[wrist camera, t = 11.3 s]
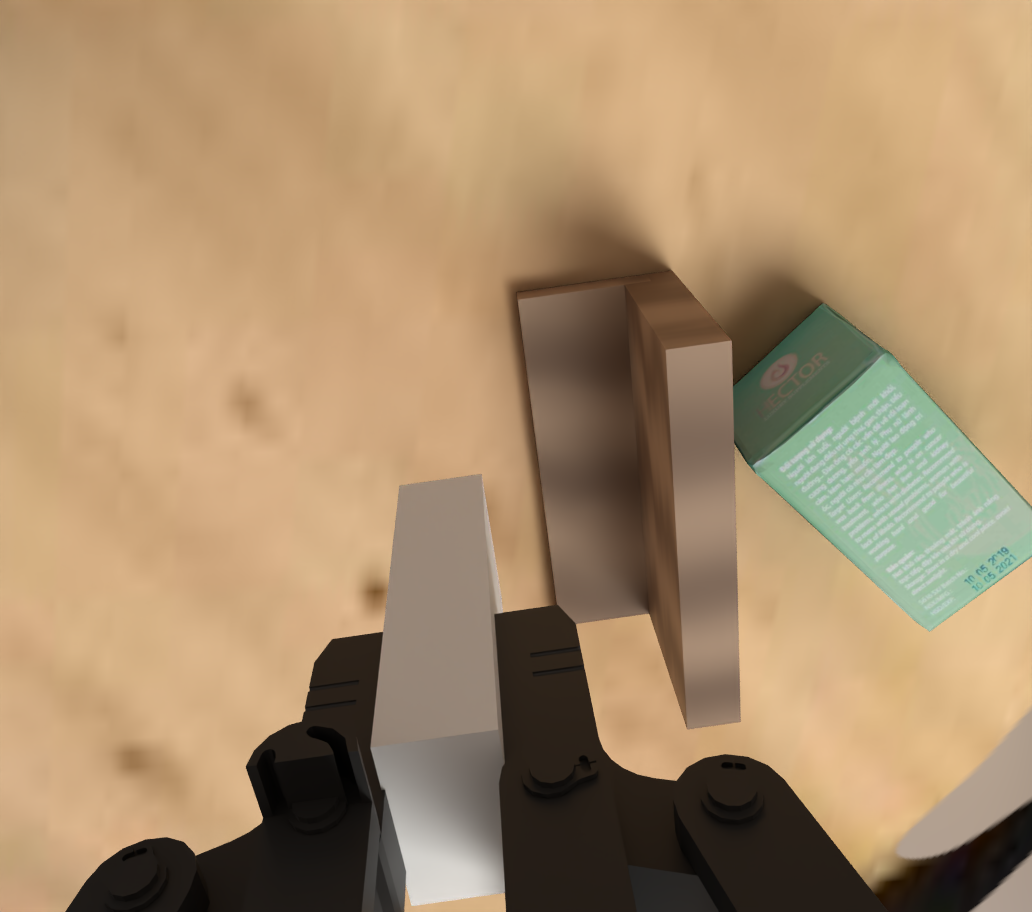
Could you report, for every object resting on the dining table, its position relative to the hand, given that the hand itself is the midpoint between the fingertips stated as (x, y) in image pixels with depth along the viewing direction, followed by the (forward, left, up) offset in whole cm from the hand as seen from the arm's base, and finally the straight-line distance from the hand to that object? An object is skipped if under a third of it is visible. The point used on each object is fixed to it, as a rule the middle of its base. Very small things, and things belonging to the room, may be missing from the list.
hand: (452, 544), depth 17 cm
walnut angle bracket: (+12, +6, -26) cm, 30 cm away
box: (+13, +18, -27) cm, 35 cm away
